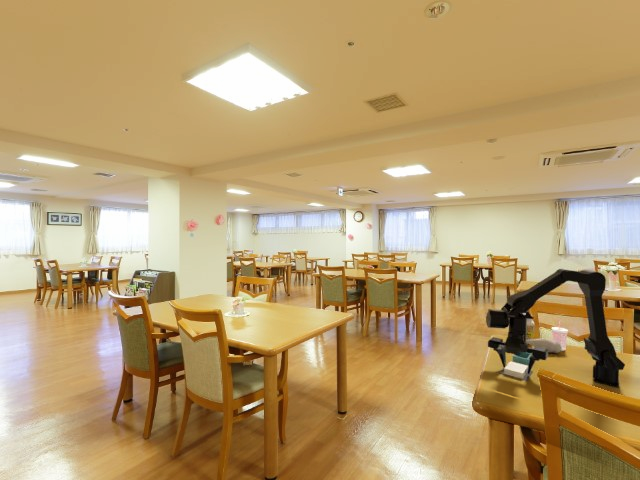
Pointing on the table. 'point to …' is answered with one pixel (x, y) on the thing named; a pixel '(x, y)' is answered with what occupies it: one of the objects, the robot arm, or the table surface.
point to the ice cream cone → (545, 344)
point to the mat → (517, 377)
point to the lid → (516, 369)
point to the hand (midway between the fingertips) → (516, 370)
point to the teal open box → (522, 358)
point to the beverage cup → (560, 335)
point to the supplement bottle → (530, 329)
